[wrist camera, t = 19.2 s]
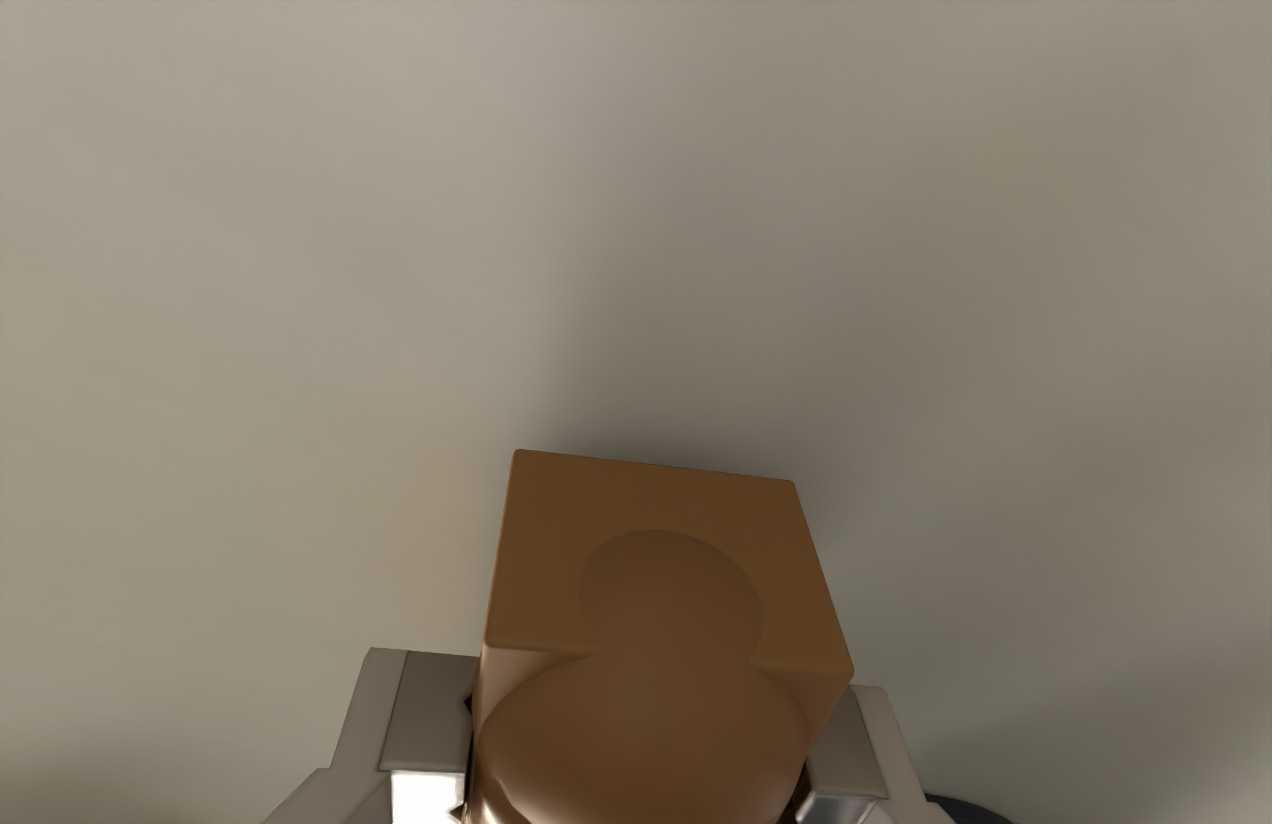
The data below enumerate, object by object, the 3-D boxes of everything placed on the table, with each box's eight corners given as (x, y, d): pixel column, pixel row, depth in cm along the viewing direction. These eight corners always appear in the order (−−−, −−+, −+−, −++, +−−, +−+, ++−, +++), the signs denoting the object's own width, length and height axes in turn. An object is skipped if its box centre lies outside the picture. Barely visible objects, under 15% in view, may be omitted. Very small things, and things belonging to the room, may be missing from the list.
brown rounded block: (508, 426, 10) (449, 750, 6) (807, 463, 10) (923, 779, 7) (481, 698, 13) (434, 1008, 9) (705, 714, 14) (743, 1012, 10)
